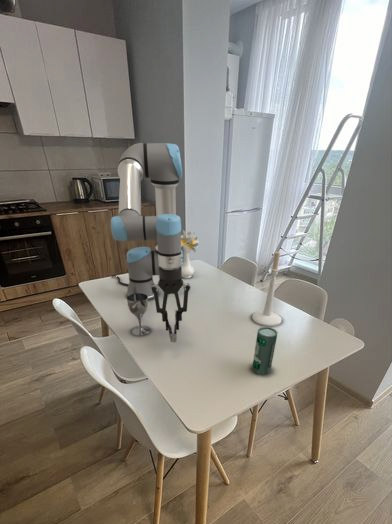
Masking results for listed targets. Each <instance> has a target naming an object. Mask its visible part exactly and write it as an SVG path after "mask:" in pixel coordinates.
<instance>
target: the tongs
mask: <svg viewBox="0 0 392 524" xmlns="http://www.w3.org/2000/svg"><path fill="white" fill-rule="evenodd" d="M166 311H167V309H166ZM174 311H175V312H174V320H175V321H174V328H173V329H172V326H171V324H170V321H169V320H168V330H167V332H168V335H169V340H170V342H171V343H173V344H174V343H176V342H177V340H178V339H177V337H178V336H177V335H178V330H177V321H176V311H178V309H175V310H174ZM167 312H168V311H167ZM167 318H168V319H169V314H168V313H167Z"/></svg>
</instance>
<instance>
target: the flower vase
mask: <svg viewBox="0 0 392 524" xmlns="http://www.w3.org/2000/svg"><path fill="white" fill-rule="evenodd" d="M181 233H182V234H181V248H182V247H183V262H182V279H190V278H192V276H193V275H194V274H195V269H194V267H193V266H192V265H191V261H190V252H192V253H196V252H197V251H196V250H197V249H198V248H199V243H200V240H199V239H198V236H196V232H193V235H192V232H191V231H188V232H186V231H185V230H184V229H181ZM196 248H197V249H196Z"/></svg>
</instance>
